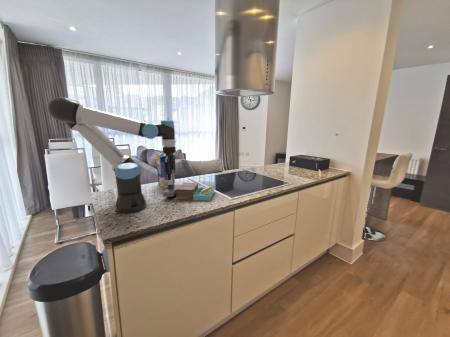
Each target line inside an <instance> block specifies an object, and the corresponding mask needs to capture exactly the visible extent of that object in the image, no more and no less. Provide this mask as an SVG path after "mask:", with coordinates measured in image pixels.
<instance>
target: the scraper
mask: <svg viewBox="0 0 450 337" xmlns="http://www.w3.org/2000/svg"><path fill="white" fill-rule="evenodd" d="M171 174H172V181H173V185H168V187H167V188H166V189H165V190H164V191H163V192H162V195H163V197H173V198H174V197H175V196H176V189H177V188H178V187H179V186H181V185H182V184H175V183H174V178H175V173H174V169H171Z"/></svg>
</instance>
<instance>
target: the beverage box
mask: <svg viewBox="0 0 450 337" xmlns="http://www.w3.org/2000/svg"><path fill="white" fill-rule="evenodd" d="M155 157H156V168H157V170H156V171H157V181H158V185H159V186H160V187H161V188H163V189H165V188H168V176H167V175H166V172H165V163H164V159H165V157H166V154H165V153H163V154H156V156H155Z"/></svg>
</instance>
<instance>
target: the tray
mask: <svg viewBox="0 0 450 337" xmlns="http://www.w3.org/2000/svg"><path fill="white" fill-rule="evenodd" d="M204 188H205V187H198V189H197V191H196V192H195V193H194V195H193V201H211V200H212V198H213V196H214V193H215V188H214V187H212V189H213V190H212V192H211V193H209V194H207V195H202V194H201V191H202V190H203V189H204Z"/></svg>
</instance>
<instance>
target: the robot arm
mask: <svg viewBox="0 0 450 337" xmlns="http://www.w3.org/2000/svg"><path fill="white" fill-rule="evenodd" d="M47 112H48V114H49V115H50V117H51V118H53V119H54V120H55V121H58V122H60V123H65V125H66V126H68V128H69V129H70V130H72V131H76V132H78V133H79V134H80V135H81V136H82V138H84V139H85V140H86V141H87V142H88V143H89V144H90V145H91V146H92V147H93V148H94V149H95V150H96V151H97V152H98V153H99V154H100V155H101V156H102V157H103V158H104V159H105V160H106V161H107V162H108V163H109V164H110V165H111V166H112V171H113V172H114V175H115V183H116V191H117V198H116V201H115V208H114V209H115V211H116V212H117V213H121V214H128V213H129V214H130V213H131V214H132V213H136V212H139V211H142V210H144V209H145V208H146V207H147V201H146V199H145V196H144V194H143V192H142V190H143V189H142V181H141V177H142V172H143V170H142V167H141V165H140V164H139V163H138V162H136V161H135V160H134V159H133V158H132V157H130V155H125V154H124V153H123V152H122V151H121V150H120V148H119V147H117V146H116V145H115V143H113V142H112V141H111V139H110V138H109V137H108V136H107V135H106V134H105V132H103V131H102V130H101V129H100V128H103V129H108V130H113V131H116V132H117V131H118V132H121V133H126V134H131V135H135V136H139V137H141V138H147V139H148V140H149V139H150V140H153V139H155V138H156V137H157V138H158V137H159V138H161V141H162V142H161V144H162V153H163V154H166V157H165V159H164V163H165V172H166V175H167V176H168V185H173V181H172V174H171V169H174V174H176V172H177V171H176V155H174V154H175V153H176V152H177V150H176V149H177V148H176V142H177V141H176V134H175V132H176V131H175V122H174V120H171V119H167V120H166V119H165V120H163V119H162V120H160V123H150V122H146V121H142V120H139V119H138V120H137V119H133V118H130V117H126V116H121V115H118V114H115V113H110V112H107V111H102V110H98V109H94V108H90V107H86V106H85V105H84V104H83V103H81V102H80V101H78V100H75V99H71V98H68V97H64V96H57V97H54V98H52V99H50V100H49V102H48V104H47ZM175 181H176V179H175V177H174V184H175V183H176V182H175Z"/></svg>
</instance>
